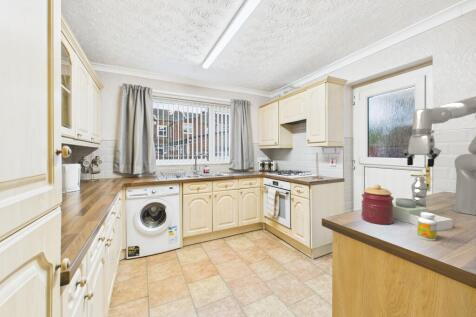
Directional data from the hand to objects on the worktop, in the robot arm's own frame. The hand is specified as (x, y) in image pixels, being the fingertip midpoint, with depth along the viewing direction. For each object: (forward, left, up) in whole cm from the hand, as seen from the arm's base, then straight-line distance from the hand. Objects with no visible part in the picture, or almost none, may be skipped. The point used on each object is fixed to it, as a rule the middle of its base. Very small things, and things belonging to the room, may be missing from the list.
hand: (419, 166), depth 109 cm
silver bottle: (0, 0, -26) cm, 26 cm away
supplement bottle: (+28, +22, -26) cm, 44 cm away
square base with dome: (+12, +7, -26) cm, 29 cm away
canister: (+29, +1, -26) cm, 39 cm away
